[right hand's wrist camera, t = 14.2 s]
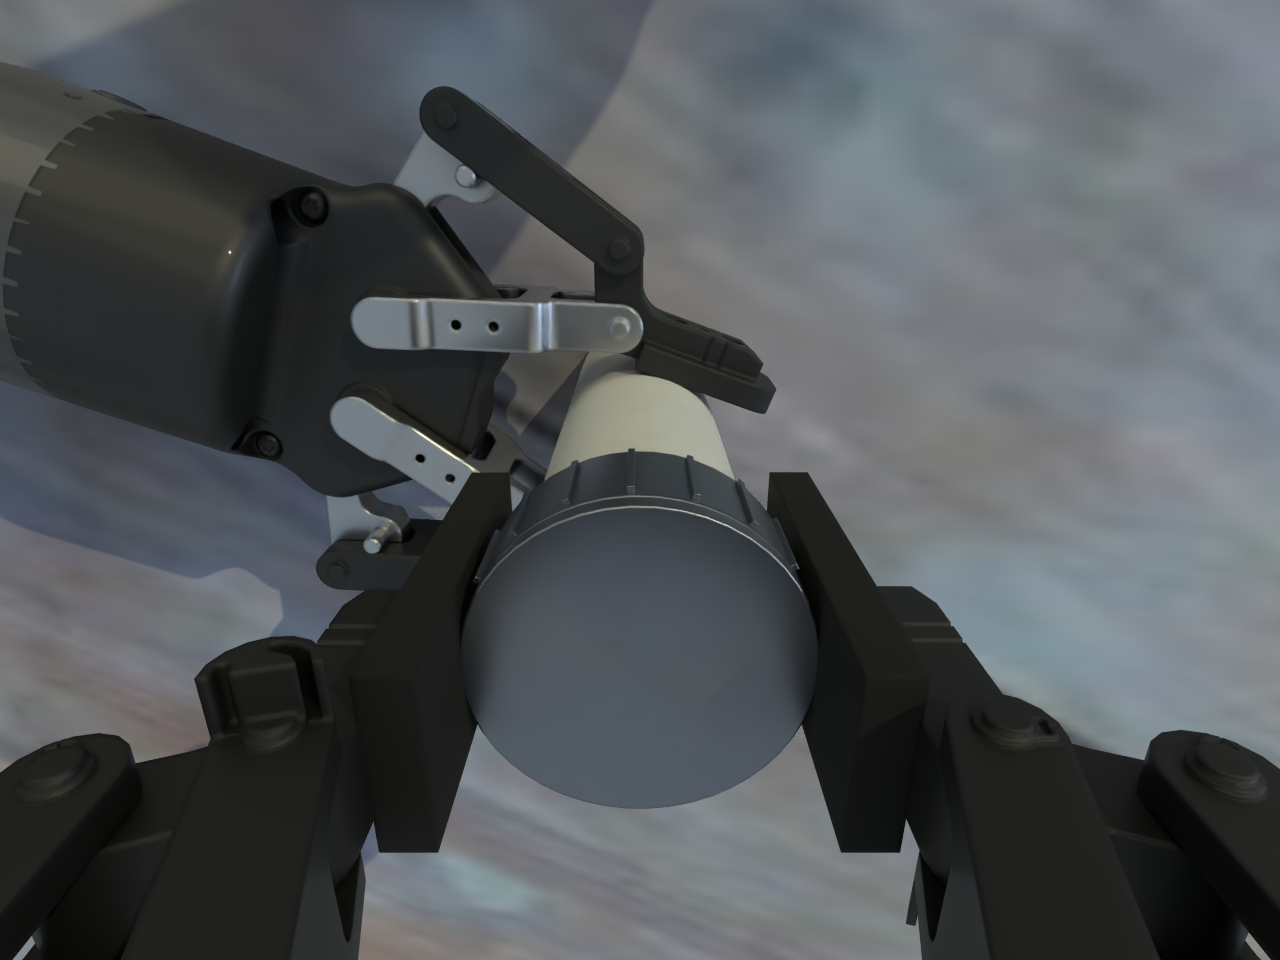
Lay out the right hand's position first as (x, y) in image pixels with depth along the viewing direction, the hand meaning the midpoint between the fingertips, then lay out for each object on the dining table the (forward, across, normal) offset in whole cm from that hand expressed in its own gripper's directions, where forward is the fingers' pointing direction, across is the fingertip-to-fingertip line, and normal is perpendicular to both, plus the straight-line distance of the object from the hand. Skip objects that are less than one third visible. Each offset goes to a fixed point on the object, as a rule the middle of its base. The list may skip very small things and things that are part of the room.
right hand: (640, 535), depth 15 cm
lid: (-4, 0, 0) cm, 4 cm away
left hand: (+6, -2, +1) cm, 6 cm away
